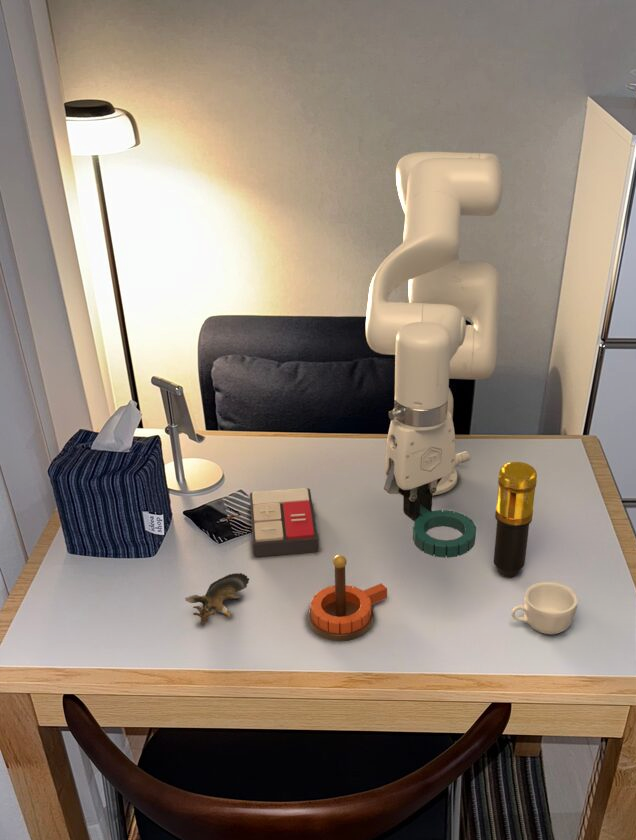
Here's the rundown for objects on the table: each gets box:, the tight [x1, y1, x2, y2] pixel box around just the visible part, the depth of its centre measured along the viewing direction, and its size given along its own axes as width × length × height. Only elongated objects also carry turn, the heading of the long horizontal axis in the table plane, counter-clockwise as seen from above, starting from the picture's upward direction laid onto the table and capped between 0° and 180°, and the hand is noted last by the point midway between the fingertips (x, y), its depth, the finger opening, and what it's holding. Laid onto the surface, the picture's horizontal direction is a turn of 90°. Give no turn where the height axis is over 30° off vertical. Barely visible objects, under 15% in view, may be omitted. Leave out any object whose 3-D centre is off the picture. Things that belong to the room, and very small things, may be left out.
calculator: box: [249, 487, 319, 558], centre depth 160 cm, size 11×4×15 cm
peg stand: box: [308, 554, 374, 642], centre depth 138 cm, size 10×10×12 cm
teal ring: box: [412, 504, 477, 559], centre depth 135 cm, size 13×9×2 cm
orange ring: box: [310, 583, 388, 634], centre depth 140 cm, size 13×9×2 cm
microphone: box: [493, 461, 538, 578], centre depth 146 cm, size 6×13×20 cm, turn 108°
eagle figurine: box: [184, 572, 250, 626], centre depth 141 cm, size 8×7×9 cm
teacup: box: [510, 581, 579, 635], centre depth 138 cm, size 10×8×5 cm
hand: (417, 514), depth 139 cm, fingers closed on teal ring, 1 cm apart
